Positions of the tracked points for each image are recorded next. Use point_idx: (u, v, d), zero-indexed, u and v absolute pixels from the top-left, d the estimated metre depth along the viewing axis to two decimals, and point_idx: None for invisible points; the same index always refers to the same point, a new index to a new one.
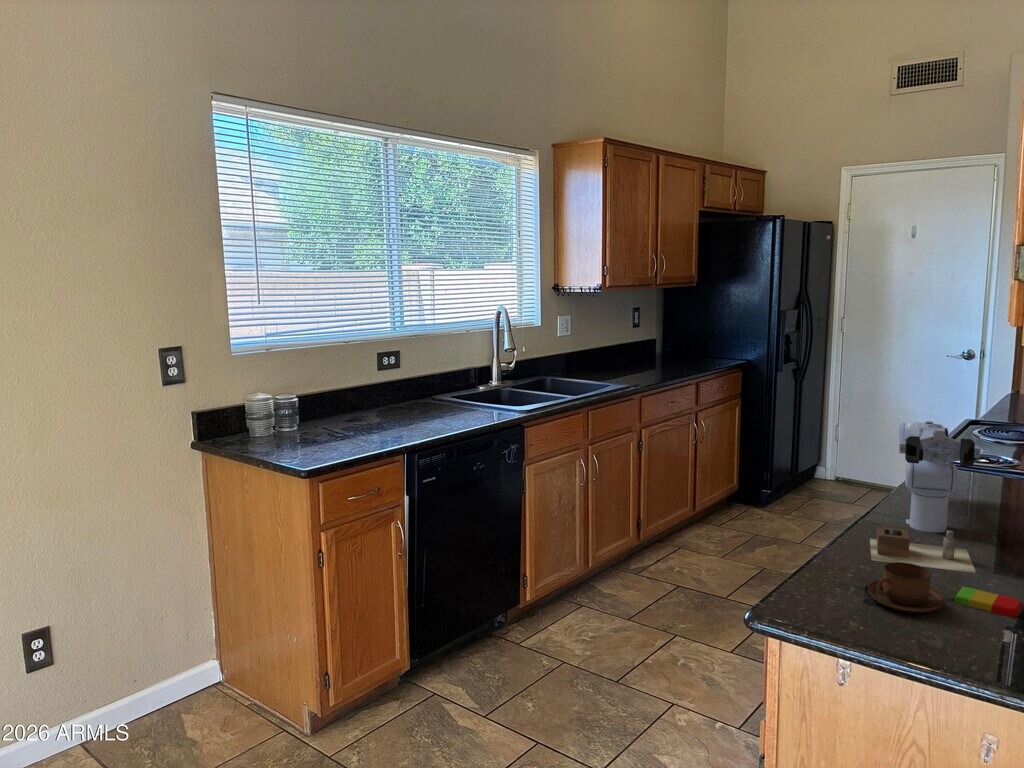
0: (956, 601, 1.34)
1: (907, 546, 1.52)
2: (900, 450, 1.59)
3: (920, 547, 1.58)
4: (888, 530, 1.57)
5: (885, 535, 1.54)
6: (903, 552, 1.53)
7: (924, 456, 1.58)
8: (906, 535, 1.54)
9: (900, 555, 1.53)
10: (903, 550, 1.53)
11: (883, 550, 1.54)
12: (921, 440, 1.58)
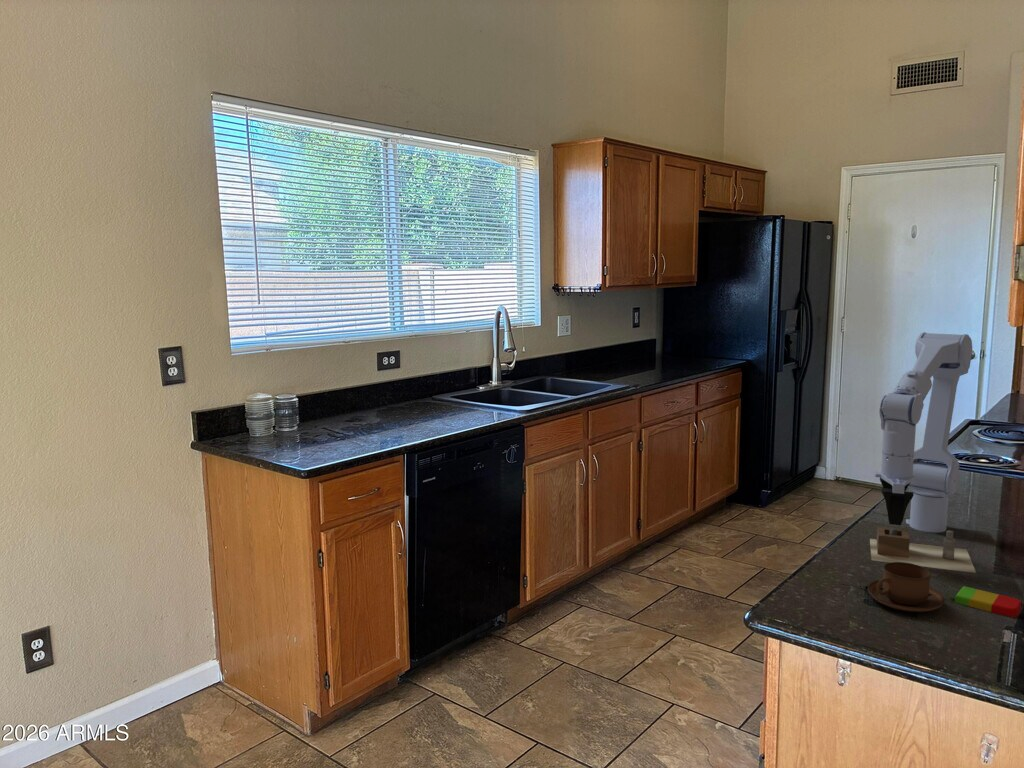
0: (956, 601, 1.34)
1: (907, 546, 1.52)
2: None
3: (920, 547, 1.58)
4: (888, 530, 1.57)
5: (885, 535, 1.54)
6: (903, 552, 1.53)
7: None
8: (906, 535, 1.54)
9: (900, 555, 1.53)
10: (903, 550, 1.53)
11: (883, 550, 1.54)
12: None
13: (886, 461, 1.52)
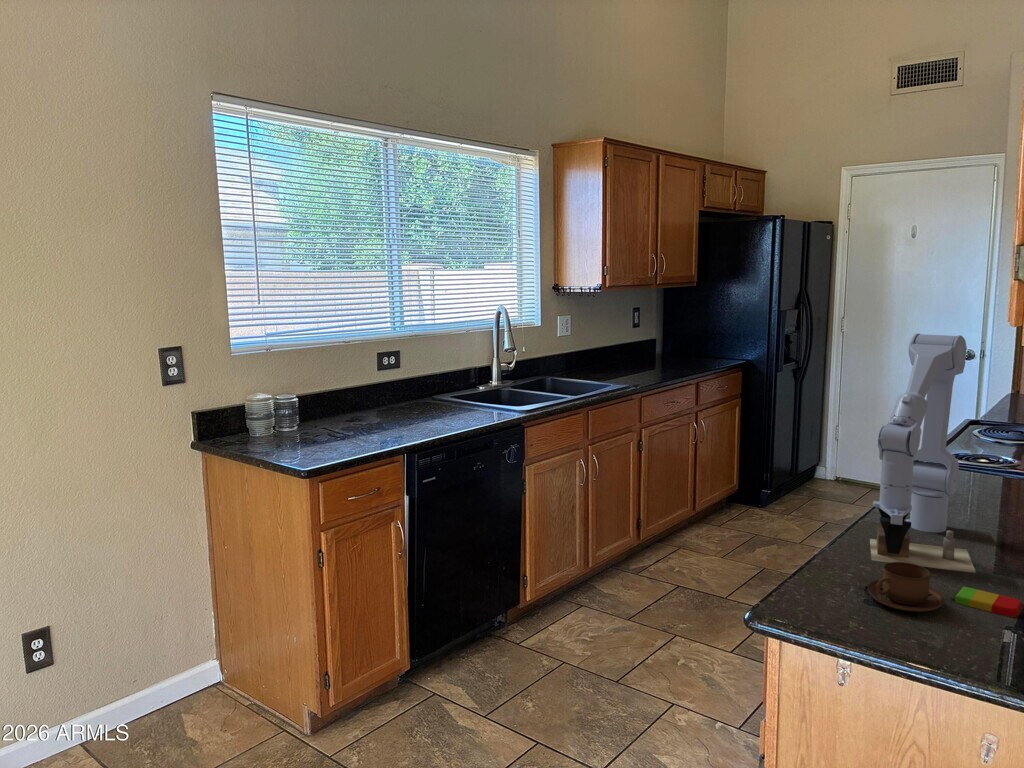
0: (956, 601, 1.34)
1: (907, 546, 1.52)
2: None
3: (920, 547, 1.58)
4: None
5: None
6: (903, 552, 1.53)
7: None
8: (906, 535, 1.54)
9: (900, 555, 1.53)
10: (903, 550, 1.53)
11: (883, 550, 1.54)
12: None
13: (884, 491, 1.53)
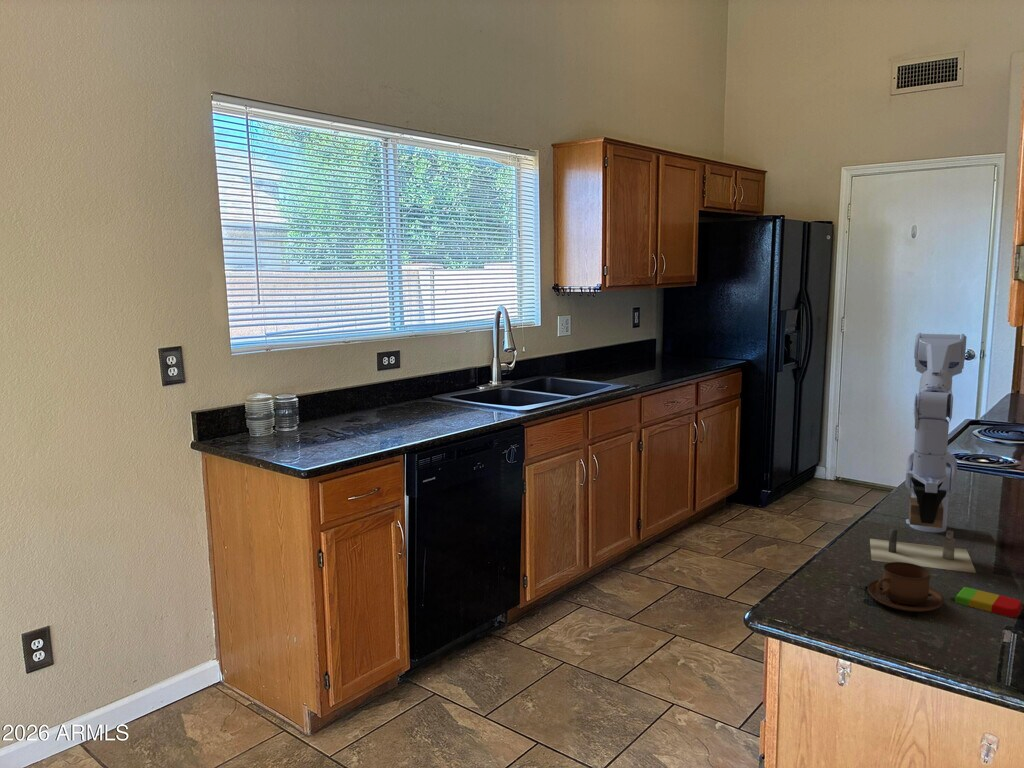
0: (956, 601, 1.34)
1: (941, 516, 1.49)
2: None
3: (920, 547, 1.58)
4: None
5: (918, 505, 1.51)
6: (936, 522, 1.49)
7: None
8: (939, 505, 1.50)
9: (933, 525, 1.50)
10: (937, 520, 1.49)
11: (916, 520, 1.51)
12: None
13: (918, 459, 1.50)
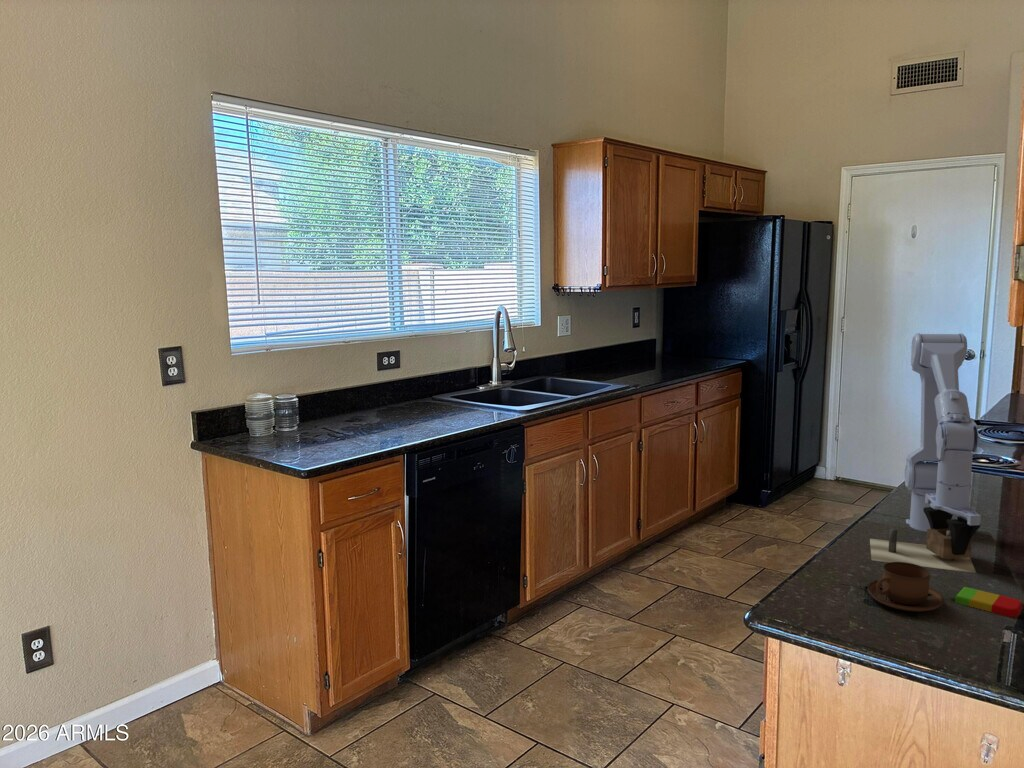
0: (957, 601, 1.34)
1: (969, 545, 1.49)
2: None
3: (920, 547, 1.58)
4: (940, 531, 1.53)
5: (948, 537, 1.49)
6: (966, 552, 1.49)
7: None
8: None
9: (963, 556, 1.49)
10: (966, 550, 1.49)
11: (948, 553, 1.49)
12: (933, 503, 1.54)
13: (948, 492, 1.48)
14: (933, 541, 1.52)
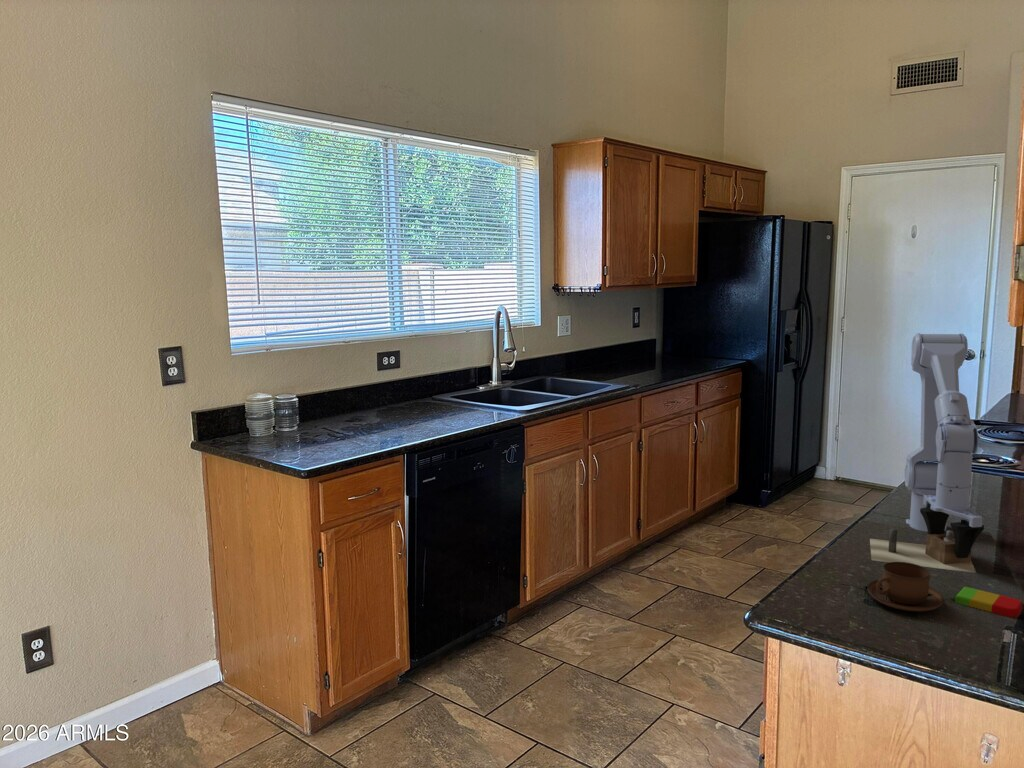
0: (957, 601, 1.34)
1: None
2: None
3: (920, 547, 1.58)
4: (939, 537, 1.53)
5: (949, 543, 1.49)
6: None
7: None
8: None
9: (963, 561, 1.49)
10: None
11: (949, 559, 1.49)
12: (932, 505, 1.53)
13: (949, 494, 1.48)
14: (933, 547, 1.52)
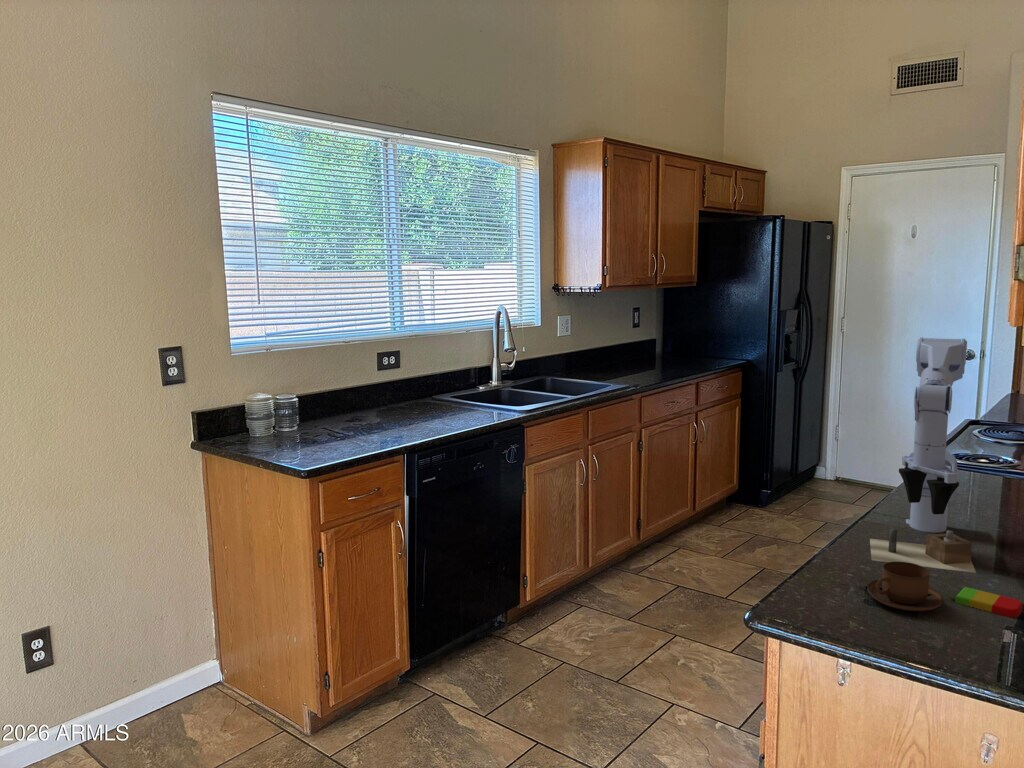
0: (957, 601, 1.34)
1: (969, 550, 1.49)
2: None
3: (920, 547, 1.58)
4: (939, 537, 1.53)
5: (949, 543, 1.49)
6: (966, 557, 1.49)
7: None
8: (962, 539, 1.51)
9: (963, 561, 1.49)
10: (966, 555, 1.49)
11: (949, 559, 1.49)
12: None
13: (925, 452, 1.53)
14: (933, 547, 1.52)
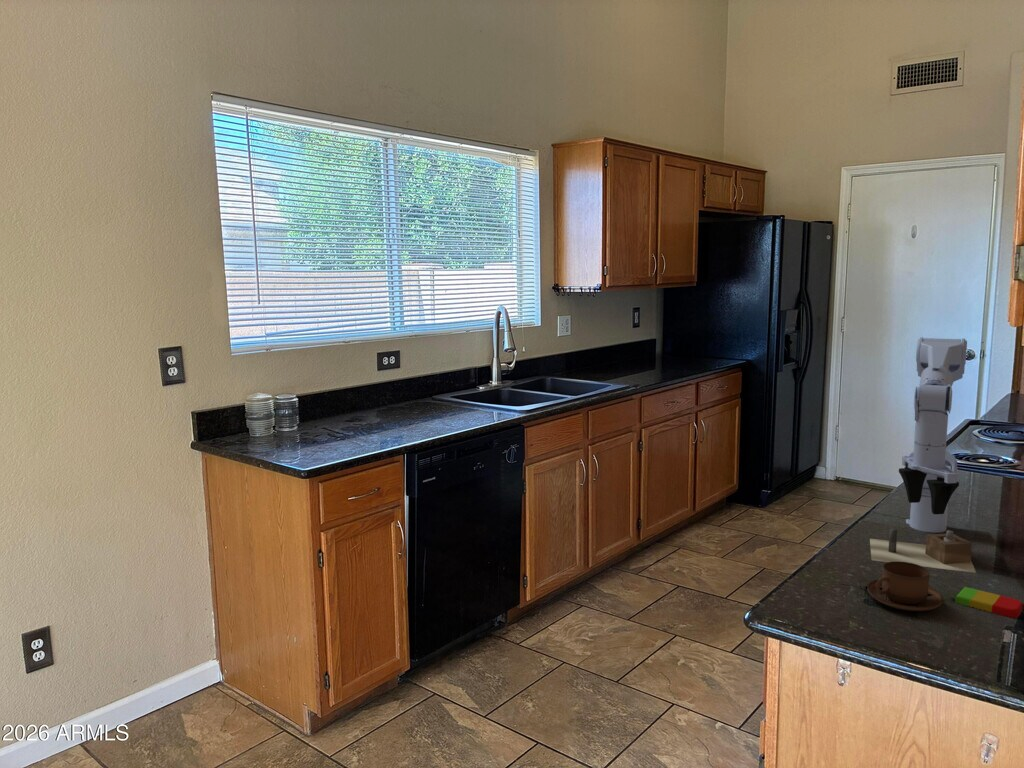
0: (957, 601, 1.34)
1: (969, 550, 1.49)
2: None
3: (920, 547, 1.58)
4: (939, 537, 1.53)
5: (949, 543, 1.49)
6: (966, 557, 1.49)
7: None
8: (962, 539, 1.51)
9: (963, 561, 1.49)
10: (966, 555, 1.49)
11: (949, 559, 1.49)
12: None
13: (925, 452, 1.53)
14: (933, 547, 1.52)
